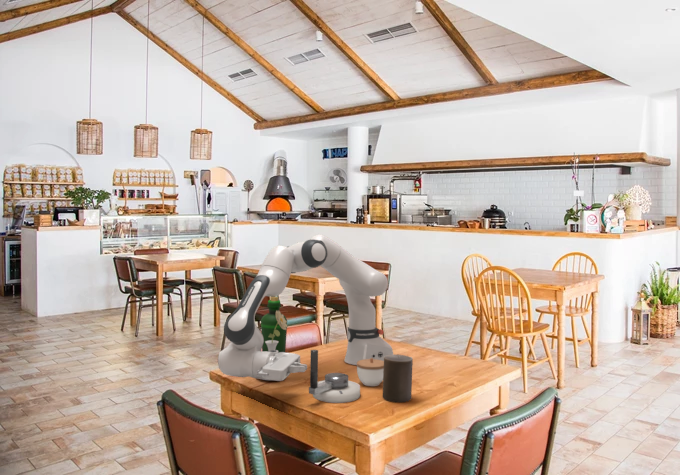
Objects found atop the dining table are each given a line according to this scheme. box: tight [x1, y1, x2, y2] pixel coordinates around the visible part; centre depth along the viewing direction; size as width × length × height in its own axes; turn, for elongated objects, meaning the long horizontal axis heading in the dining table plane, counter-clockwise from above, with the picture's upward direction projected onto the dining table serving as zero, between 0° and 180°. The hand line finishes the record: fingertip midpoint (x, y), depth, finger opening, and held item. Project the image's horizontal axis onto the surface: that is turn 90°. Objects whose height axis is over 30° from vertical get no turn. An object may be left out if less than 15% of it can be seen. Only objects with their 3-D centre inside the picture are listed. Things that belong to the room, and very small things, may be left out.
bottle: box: [260, 296, 288, 353], centre depth 229 cm, size 11×11×28 cm
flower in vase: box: [262, 310, 288, 381], centre depth 215 cm, size 13×11×25 cm
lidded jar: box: [356, 358, 384, 387], centre depth 210 cm, size 11×11×9 cm
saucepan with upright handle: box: [308, 349, 349, 396], centre depth 193 cm, size 17×8×14 cm, turn 143°
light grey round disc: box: [312, 379, 361, 404], centre depth 197 cm, size 16×16×3 cm
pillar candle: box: [382, 353, 413, 403], centre depth 195 cm, size 10×10×15 cm
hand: (306, 368), depth 188 cm, fingers closed
